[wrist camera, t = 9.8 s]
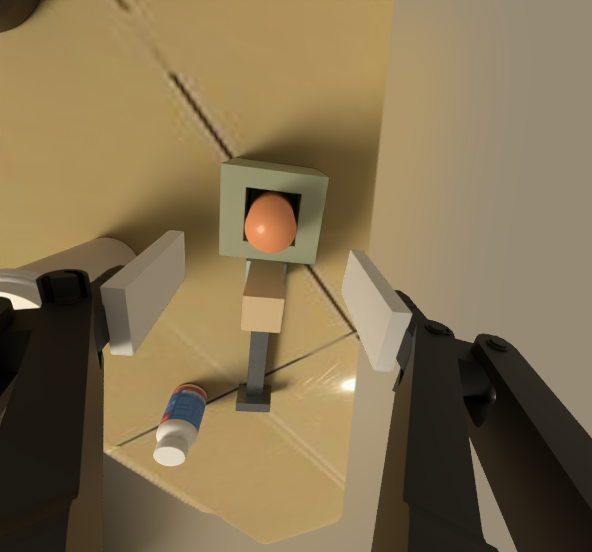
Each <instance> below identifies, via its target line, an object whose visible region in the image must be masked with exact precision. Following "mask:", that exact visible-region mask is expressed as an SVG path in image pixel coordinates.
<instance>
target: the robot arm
mask: <svg viewBox="0 0 592 552" xmlns="http://www.w3.org/2000/svg"><path fill="white" fill-rule="evenodd" d="M38 1H39V0H0V32H2V31H6V30H9V29H11V28H13V27H15V26H17V25H18V24H20V23H21V22H23V21H24V20H25V19H26V18H27V17H28V16H29V15H30V14H31V12H32V11H33V10H34V8H35V7H36V5H37V3H38ZM184 279H185V244H184V231H174V230H169V231H167V232H166V233H165V234H164V235H163V236H161V237H160V238H159V239H158V240H156V241H155V242H154V243H153V244H152V245H150V246H149V247H148V248H147V249H145V250H144V251H143V252H142V253H141V254H139V255H138V256H137V257H136V258H135V259H133V260H132V261H131V262H130V263H128V264H127V265H126V266H124V265H118V266H116V267H113V268H110V269H108V270H107V271H105V272H104V273H103V274H101V276H99V277H97V278H96V279H95V281H92V282H91V283H90V280H89V275H88V273H87V272H85V271H83V270H79V269H62V270H55V271H51V272H47V273H45V274H43V275H40V276H39V277H38V278H37V279H36V284H37V288H38V291H39V295H40V299H41V303H42V304H41V307H40V308H29V309H17V310H14V308H13V305H12V302H11V300H10V299H9V298H6V297H1V296H0V415H1V414H2V412H3V411H4V410H5V408H6V410H5V413H4V416H3V419H2V422H1V425H0V552H103V404H104V357H103V352H102V349H103V348H104V347H105V345H106V344H107V343H108V342H109V344H110V350H111V354H116V355H132V356H133V355H134V354H135V352H136V351H137V349H138V348H139V346H140V345H141V343H142V342H143V340H144V339H145V337H146V336H147V334H148V333H149V331H150V330H151V328H152V327H153V326H154V324H155V323H156V321H157V320H158V318H159V317H160V315H161V314H162V312H163V311H164V309H165V308H166V306H167V305H168V303H169V302H170V300H171V299H172V297H173V296H174V294H175V293H176V291H177V290H178V288H179V287H180V285H181V284H182V282H183V281H184ZM341 293H342V296H343V298H344V300H345V303H346V305H347V308H348V310H349V312H350V315H351V317H352V319H353V322H354V324H355V327H356V329H357V331H358V334H359V336H360V338H361V341H362V343H363V346H364V348H365V350H366V353H367V355H368V357H369V360H370V362H371V365H372V367H373V369H374V371H391V372H392V371H393V368H394V365H395V362H396V359H397V361H398V363H399V365H400V367H401V369H400V371H399V374H398V377H397V380H396V382H395V385H394V388H393V391H394V392H395V397H394V404H393V411H392V417H391V424H390V430H389V437H388V444H387V450H386V457H385V463H384V470H383V476H382V483H381V490H380V496H379V504H378V510H377V516H376V523H375V529H374V536H373V543H372V549H371V552H499V551H498V550H497V548H495V547H493V546H491V545H489V544H487V543H486V541H485V539H484V537H483V532H482V527H481V520H480V512H479V505H478V498H477V492H476V485H475V477H474V470H473V464H472V456H471V449H470V442H469V437H470V439H471V442H472V444H473V446H474V449H475V451H476V454H477V456H478V458H479V461H480V463H481V466H482V467H483V470H484V473H485V475H486V478H487V480H488V482H489V484H490V487H491V489H492V492H493V494H494V497H495V499H496V501H497V503H498V506H499V509H500V511H501V513H502V516H503V518H504V520H505V523H506V525H507V527H508V530H509V532H510V535H511V537H512V540H513V542H514V544H515V547H516V549H517V551H518V552H592V438H591V437H590V436H589V435H588V433H587V432H586V431H585V430H584V428H583V427H582V426H581V425H580V424H579V423H578V421H577V420H576V419H575V418H574V417H573V415H571V413H570V412H569V411H568V410H567V409H566V407H565V406H564V405H563V404H562V403H561V401H560V400H559V399H558V398H557V396H556V395H555V394H554V393H553V392H552V391H551V390H550V388H549V387H548V386H547V385H546V384H545V382H544V381H543V380H542V379H541V378H540V376H539V375H538V374H537V373H536V372H535V371H534V369H533V368H532V367H531V366H530V365H529V364H528V362H527V361H526V360H525V359H524V357H523V356H522V355H521V354H520V353H519V351H518V350H517V349H516V348H515V347H513V345H511V344H510V343H508V342H507V341H506V340H504V339H502V338H499V337H498V336H493V335H489V334H479V335H478V336H477V337H476V339H475V341H474V343H470V342H466V341H462V340H459V339H455V336H454V334H453V332H452V331H451V330H450V329H449V328H448V327H446V326H445V325H443V324H441V323H439V322H436V321H432V320H428V319H427V318H426V317H425V316H424V314H423V313H422V312H421V311H420V310H419V309H418V308H417V306H416V305H415V304H414V303H413V301H412V300H411V299H410V298H409V297H408V296H407V295H406V294H404V293H403V292H401V291H398V290H394V289H393V288H392V287H391V285H390V284H389V283H388V282H387V280H386V279H385V278H384V277H383V275H382V274H381V273H380V271H379V270H378V269H377V268H376V266H375V265H374V264H373V262H372V261H371V260H370V259H369V257H368V256H367V255H366V254H365V252H364V251H359V250H350V254H349V258H348V263H347V267H346V272H345V276H344V281H343V285H342V290H341ZM495 395H496V400H495V398H494V397H495Z"/></svg>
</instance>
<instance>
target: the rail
mask: <svg viewBox="0 0 592 552" xmlns="http://www.w3.org/2000/svg"><path fill="white" fill-rule="evenodd" d="M268 338H269V332H258V331H251V342H250V354H249V366H248V379H247V385H242V384H239V388H238V394H237V401H236V411H249V412H269V411H270V400H271V386H263V383H264V374H265V365H266V356H267V347H268Z"/></svg>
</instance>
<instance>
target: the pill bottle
mask: <svg viewBox="0 0 592 552" xmlns="http://www.w3.org/2000/svg"><path fill="white" fill-rule="evenodd" d="M206 402H207V394H206V392H205V391H204V390H203V389H202V388H200V387H199V386H196V385H192V384H185V385H181V386H179V387H178V388H176V389H175V390H174V392H173V394H172V396H171V398H170V401H169V403H168V406H167V408H166V411H165V413H164V415H163V418H162V420H161V422H160V425H159V427H158V430H157V433H156V438H157V441H158V444H157V445H156V449H155V452H154V459H155V460H156V461H157V462H158V463H160V464H162V465H165V466H176V465H179V464H181V463H183V462H184V460H185V458H186V455H187V452H188V448H189V447H191V446H192V445H193V444H194V443H195V441H196V439H197V435H198V431H199V428H200V424H201V420H202V417H203V413H204V410H205V406H206Z"/></svg>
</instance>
